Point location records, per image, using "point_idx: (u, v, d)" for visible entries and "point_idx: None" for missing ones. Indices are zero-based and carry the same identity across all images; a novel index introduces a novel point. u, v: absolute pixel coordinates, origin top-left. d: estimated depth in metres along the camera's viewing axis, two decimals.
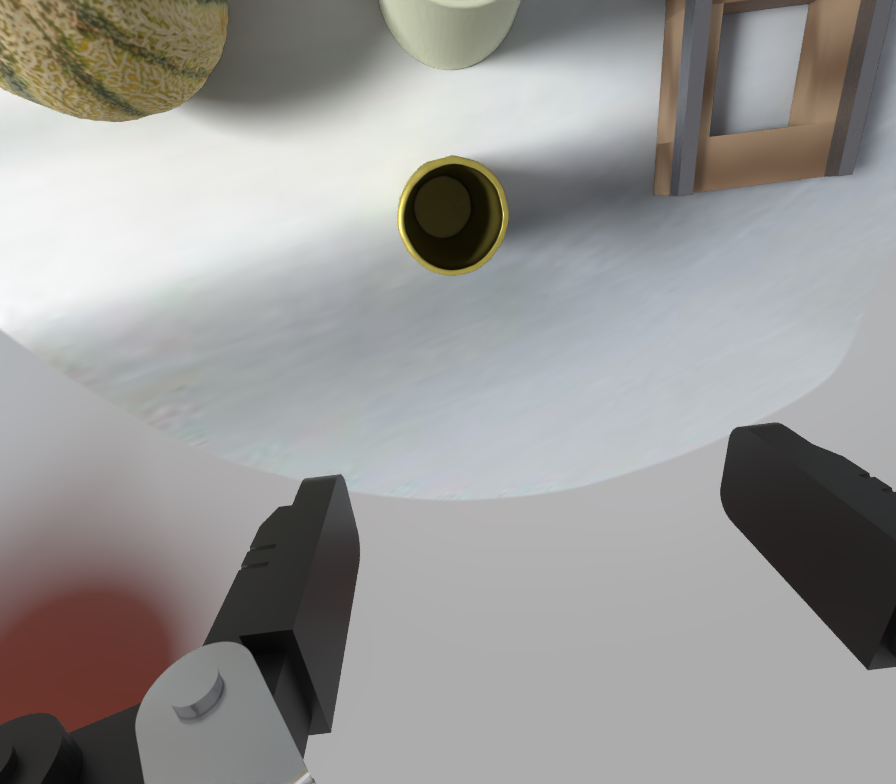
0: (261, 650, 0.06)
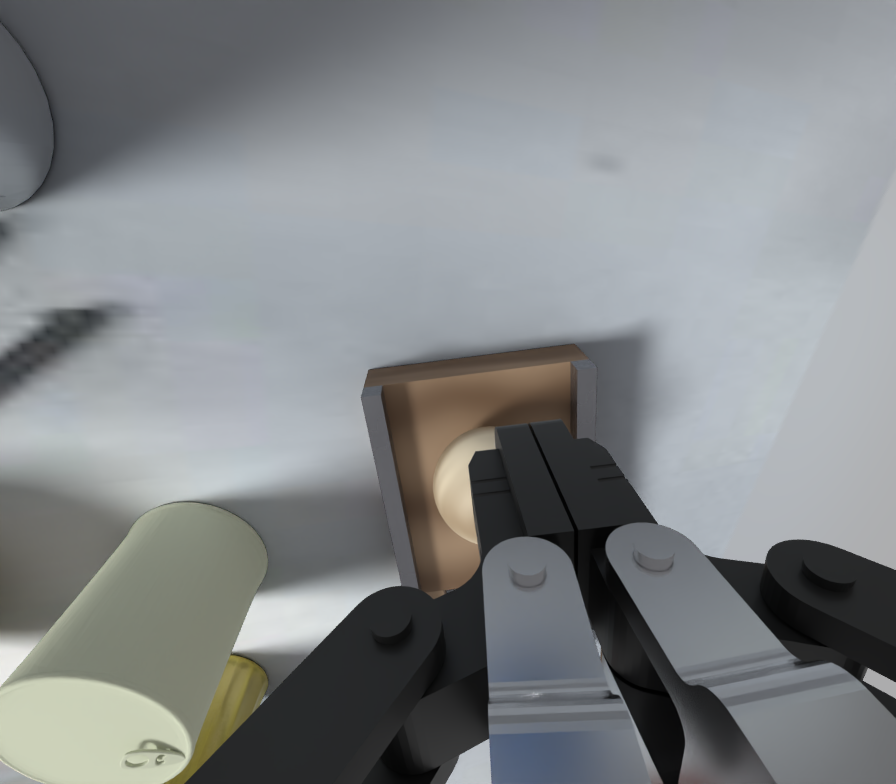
0: None
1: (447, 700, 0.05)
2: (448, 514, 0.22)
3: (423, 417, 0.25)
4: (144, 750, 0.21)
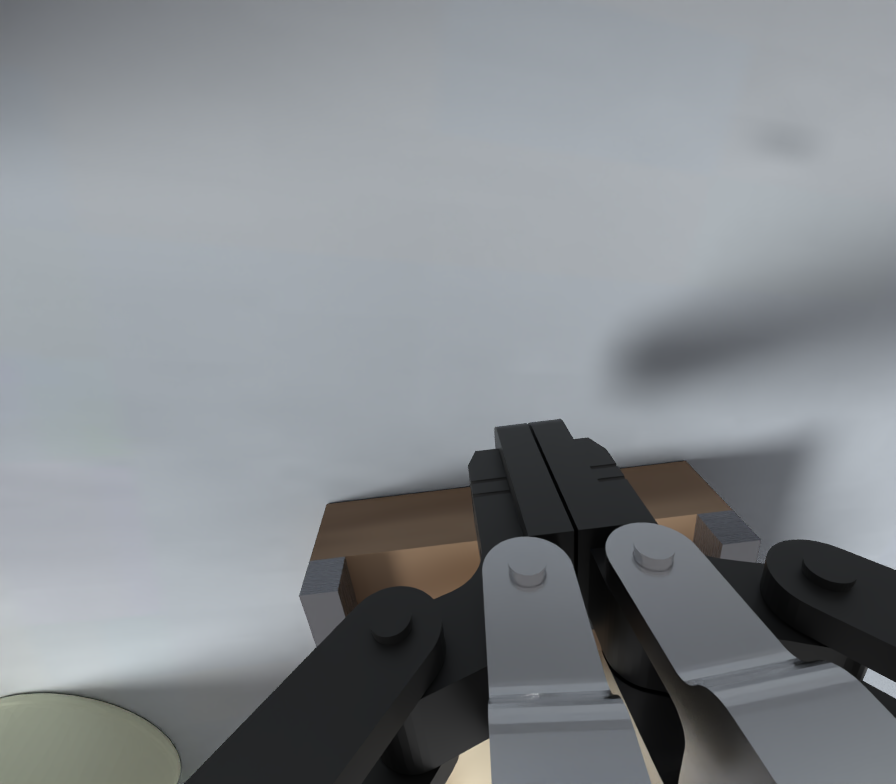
0: None
1: (447, 700, 0.05)
2: None
3: None
4: None
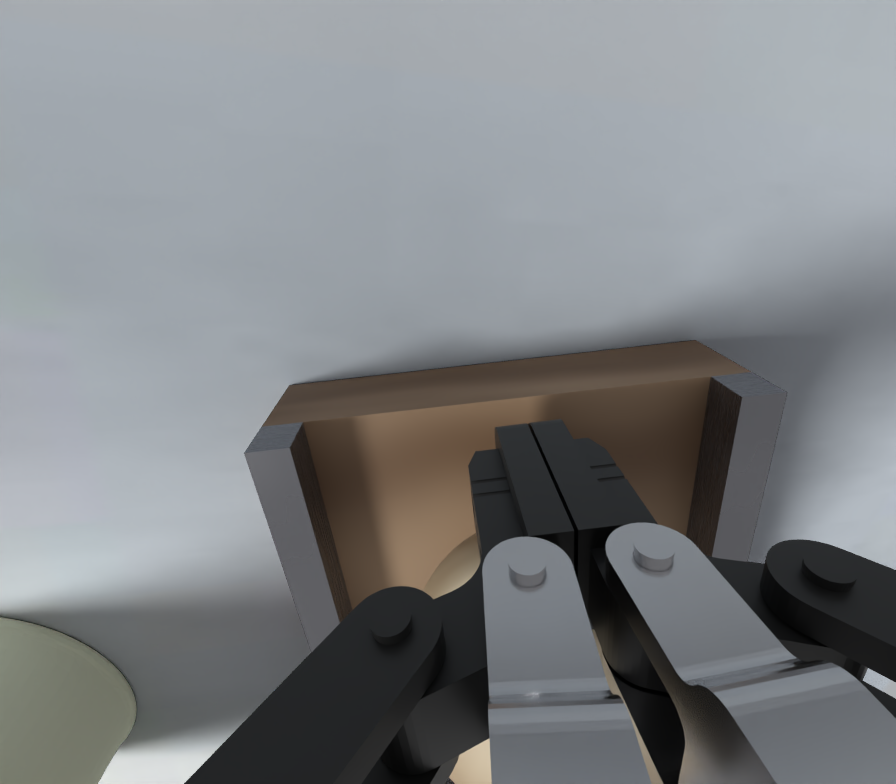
0: None
1: (447, 700, 0.05)
2: None
3: (393, 488, 0.12)
4: None
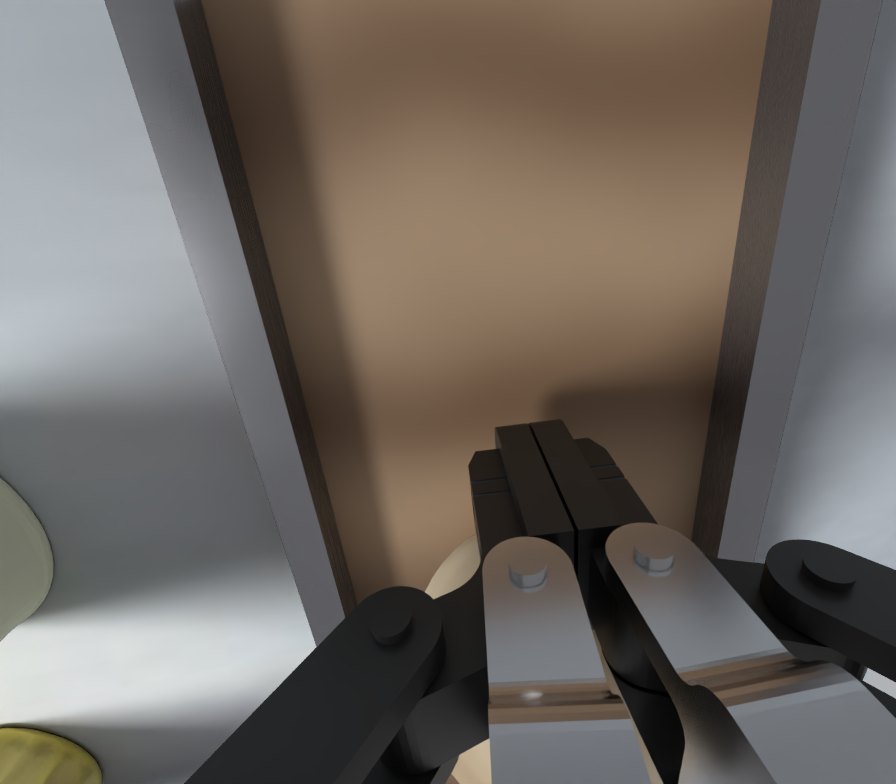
0: None
1: (447, 700, 0.05)
2: None
3: (336, 134, 0.09)
4: None
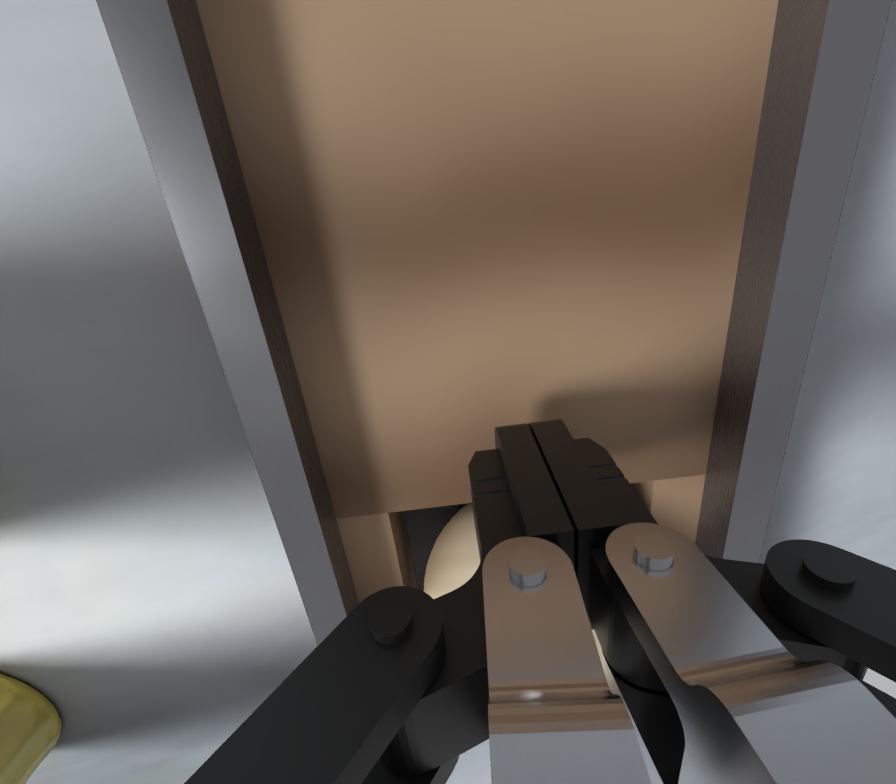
0: None
1: (447, 700, 0.05)
2: (438, 536, 0.13)
3: None
4: None
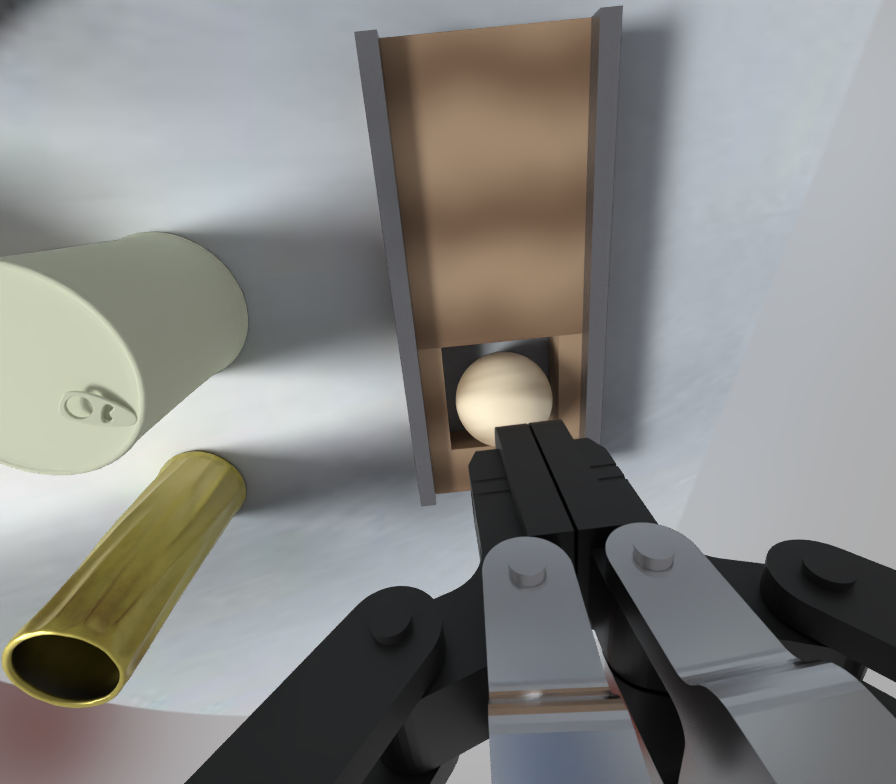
0: None
1: (447, 700, 0.05)
2: None
3: (424, 90, 0.22)
4: (87, 392, 0.18)
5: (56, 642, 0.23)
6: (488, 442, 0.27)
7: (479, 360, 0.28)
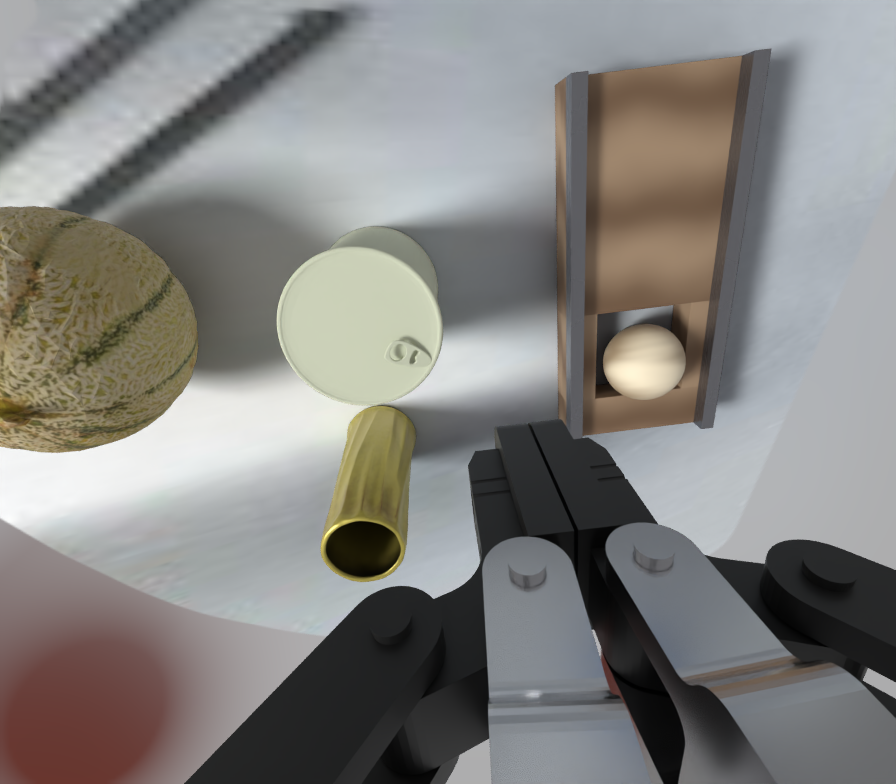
0: None
1: (447, 700, 0.05)
2: (611, 342, 0.36)
3: (610, 113, 0.29)
4: (405, 341, 0.25)
5: (335, 538, 0.30)
6: (633, 397, 0.35)
7: (629, 332, 0.35)
